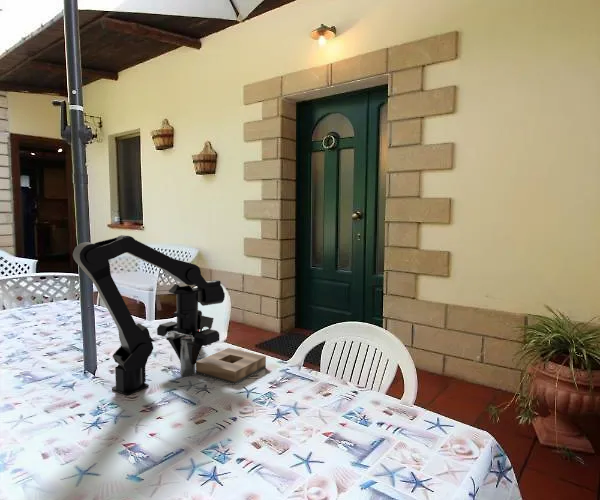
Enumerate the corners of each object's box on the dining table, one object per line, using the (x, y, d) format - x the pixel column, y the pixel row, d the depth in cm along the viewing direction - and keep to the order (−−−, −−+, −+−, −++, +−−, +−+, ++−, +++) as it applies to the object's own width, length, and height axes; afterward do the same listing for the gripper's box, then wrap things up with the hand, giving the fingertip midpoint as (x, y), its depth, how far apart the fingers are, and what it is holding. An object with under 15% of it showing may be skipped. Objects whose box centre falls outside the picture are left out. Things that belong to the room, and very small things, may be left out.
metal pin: (188, 377, 113) (187, 341, 112) (177, 374, 115) (177, 339, 114) (198, 372, 116) (198, 337, 115) (188, 369, 118) (187, 335, 117)
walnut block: (235, 384, 108) (235, 371, 108) (195, 373, 115) (195, 361, 115) (265, 367, 120) (265, 356, 120) (228, 358, 127) (228, 347, 127)
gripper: (232, 306, 116) (232, 360, 117) (184, 299, 126) (185, 349, 127) (204, 314, 107) (205, 373, 108) (155, 305, 116) (156, 359, 117)
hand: (188, 362), depth 115 cm, fingers closed on metal pin, 4 cm apart
